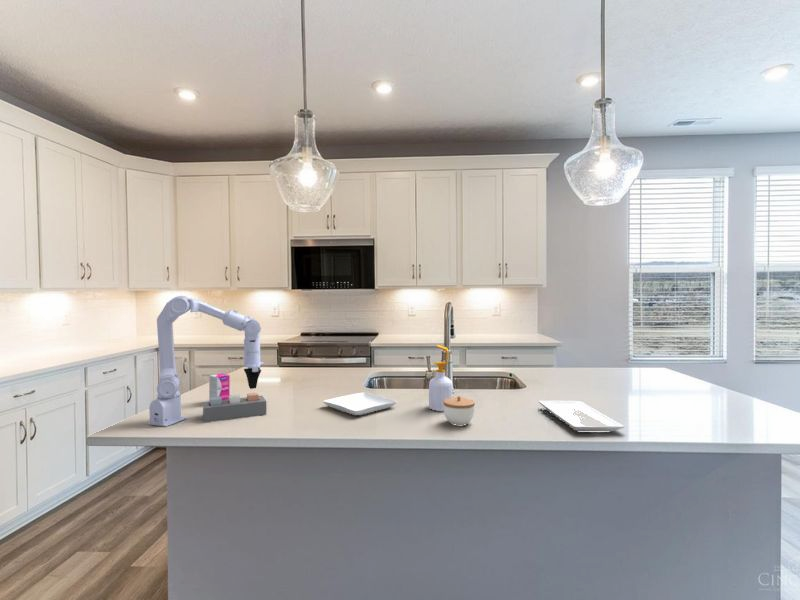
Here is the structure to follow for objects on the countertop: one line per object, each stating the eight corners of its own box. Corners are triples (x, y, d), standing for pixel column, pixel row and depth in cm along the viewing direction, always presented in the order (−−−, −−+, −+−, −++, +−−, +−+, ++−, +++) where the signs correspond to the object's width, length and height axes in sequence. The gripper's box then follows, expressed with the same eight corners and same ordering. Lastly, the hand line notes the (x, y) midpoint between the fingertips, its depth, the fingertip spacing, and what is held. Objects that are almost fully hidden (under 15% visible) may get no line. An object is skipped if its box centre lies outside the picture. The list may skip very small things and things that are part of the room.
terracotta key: (248, 406, 160) (248, 395, 160) (247, 404, 163) (246, 393, 163) (258, 405, 162) (258, 394, 161) (257, 403, 165) (256, 392, 165)
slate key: (210, 411, 154) (210, 400, 154) (210, 408, 157) (209, 397, 157) (221, 409, 156) (221, 398, 156) (220, 407, 159) (220, 396, 159)
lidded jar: (441, 418, 155) (441, 392, 155) (470, 418, 156) (470, 392, 156) (445, 428, 144) (446, 400, 144) (477, 428, 145) (477, 400, 145)
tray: (579, 408, 170) (579, 399, 169) (625, 436, 138) (625, 425, 138) (537, 409, 169) (537, 400, 169) (573, 437, 137) (574, 426, 137)
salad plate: (363, 398, 184) (363, 390, 184) (398, 408, 169) (398, 400, 169) (321, 408, 169) (321, 399, 169) (355, 420, 154) (355, 411, 154)
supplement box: (216, 405, 172) (216, 377, 172) (208, 403, 176) (208, 375, 175) (230, 402, 177) (229, 374, 176) (222, 400, 180) (221, 372, 180)
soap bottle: (430, 404, 174) (430, 343, 173) (453, 405, 172) (453, 344, 171) (427, 410, 165) (427, 346, 164) (451, 412, 163) (451, 347, 162)
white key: (229, 408, 157) (229, 397, 157) (228, 406, 160) (228, 395, 160) (240, 407, 159) (240, 396, 159) (239, 405, 162) (239, 394, 162)
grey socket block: (204, 422, 151) (203, 408, 151) (202, 415, 159) (202, 402, 159) (266, 414, 160) (266, 401, 160) (262, 408, 168) (262, 395, 168)
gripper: (266, 353, 157) (267, 390, 158) (260, 348, 170) (260, 382, 170) (246, 354, 154) (246, 393, 154) (241, 349, 167) (241, 384, 167)
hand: (252, 387), depth 162 cm, fingers closed
